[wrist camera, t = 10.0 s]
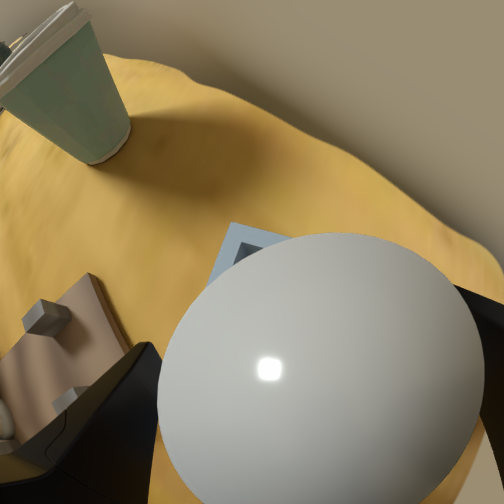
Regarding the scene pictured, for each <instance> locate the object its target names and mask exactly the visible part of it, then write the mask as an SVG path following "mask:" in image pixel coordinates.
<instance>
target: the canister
mask: <svg viewBox="0 0 504 504" xmlns="http://www.w3.org/2000/svg"><path fill="white" fill-rule="evenodd" d="M12 53H13V52H12V51H11V50H10V48H9V47H8V46H6V45H5V42H4V41H3V42H1V40H0V67H1V66H2V64H3V63H4V62H5V61H6V60H7V58H8V57H9V56H10V55H11V54H12Z"/></svg>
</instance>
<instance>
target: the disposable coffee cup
mask: <svg viewBox="0 0 504 504" xmlns="http://www.w3.org/2000/svg"><path fill="white" fill-rule="evenodd" d="M91 18H92V16H91V14H89V12H88V11H87V10H86V8H81V9H79V8H78V6H77V5H76V3H75V2H74V1H73V2H71V3H69V4H67V5H65V6H64V7H62V8H61V9H59V10H58V11H57V12H55V13H54V14H53V15H52V16H51V17H49V18H48V19H47V20H46V21H45V22H43V23H42V24H41V25H40V26H39V27H38V28H37V29H36V30H35V31H34V32H32V33H31V34H30V35H29V36H28V37H27V38H26V39H25V40H24V41H23V42H22V43H21V44H20V45H19V46H18V47H17V49H16V50H15V51H14V52H13V53H12V54H11V55H10V56H9V57H8V58H7V60H6V61H5V62H4V63H3V64H2V66H1V67H0V106H2V107H3V108H4V109H6V110H7V111H9V112H10V113H11V114H13V115H14V116H16V117H17V118H18V119H20V120H21V121H23V122H24V123H26V124H27V125H28V126H30V127H31V128H33V129H34V130H35V131H37V132H38V133H40V134H41V135H43V136H44V137H46V138H47V139H48V140H50V141H51V142H53V143H54V144H56V145H57V146H59V147H60V148H61V149H63V150H64V151H66V152H67V153H69V154H70V155H72V156H73V157H75V158H76V159H78V160H79V161H81V162H83V163H85V164H86V163H88V164H90V165H94V164H98V163H101V162H104V161H105V160H107V159H108V158H110V157H111V156H112V155H114V154H115V153H117V151H118V150H119V149H120V148H121V147H122V145H123V144H124V143H125V142H126V141H127V139H128V136H129V133H130V131H131V125H130V123H131V121H130V118H129V116H128V113H127V111H126V108H125V106H124V104H123V102H122V99H121V97H120V95H119V92H118V90H117V88H116V85H115V83H114V81H113V78H112V76H111V73H110V71H109V69H108V66H107V64H106V61H105V59H104V56H103V54H102V51H101V49H100V46H99V44H98V41H97V38H96V36H95V34H94V31H93V28H92V25H91V23H90V19H91Z"/></svg>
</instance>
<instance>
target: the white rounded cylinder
mask: <svg viewBox="0 0 504 504" xmlns="http://www.w3.org/2000/svg"><path fill="white" fill-rule="evenodd" d="M483 390H484V357H483V350H482V344H481V340H480V336H479V333H478V329H477V326H476V323H475V321H474V319H473V316H472V314H471V312H470V310H469V308H468V306H467V304H466V303H465V301H464V299H463V298H462V296H461V295H460V293H459V292H458V290H457V289H456V288H455V287H454V285H453V284H452V283H451V282H450V281H449V280H448V278H447V277H446V276H445V275H444V274H443V273H442V272H440V271H439V270H438V269H437V268H436V267H435V266H433V265H432V264H431V263H430V262H428V261H427V260H425V259H424V258H422V257H421V256H419V255H418V254H416V253H415V252H413V251H411V250H409V249H407V248H404V247H402V246H400V245H398V244H396V243H393V242H390V241H387V240H383V239H380V238H377V237H373V236H367V235H361V234H354V233H322V234H312V235H306V236H301V237H297V238H293V239H288V240H285V241H282V242H279V243H277V244H274V245H271V246H268V247H266V248H263V249H261V250H259V251H257V252H256V253H254V254H252V255H250V256H248V257H246V258H244V259H242V260H241V261H239V262H238V263H236V264H235V265H233V266H232V267H230V268H229V269H228V270H226V271H225V272H223V273H222V274H221V275H220V276H219V277H218V278H217V279H215V280H214V281H213V282H212V283H211V284H210V285H209V286H207V287H206V288H205V290H204V291H203V292H202V293H201V294H200V295H199V296H198V298H197V299H196V300H195V301H194V302H193V303H192V304H191V306H190V307H189V309H188V310H187V312H186V313H185V315H184V316H183V318H182V319H181V321H180V322H179V324H178V326H177V328H176V330H175V332H174V334H173V336H172V338H171V340H170V342H169V344H168V347H167V350H166V353H165V356H164V359H163V362H162V366H161V371H160V377H159V382H158V398H157V408H158V418H159V426H160V430H161V434H162V438H163V442H164V445H165V448H166V450H167V452H168V455H169V457H170V459H171V462H172V464H173V465H174V467H175V469H176V471H177V472H178V474H179V475H180V477H181V479H182V480H183V481H184V483H185V484H186V485H187V486H188V488H189V489H190V490H191V491H192V492H193V494H194V495H195V496H196V497H197V498H198V499H199V500H201V501H202V502H203V503H204V504H418V503H420V502H421V501H422V500H423V499H424V498H426V497H427V496H428V495H429V494H430V493H431V492H432V491H433V490H434V489H435V488H436V487H437V486H438V485H439V484H440V483H441V482H442V481H443V480H444V478H445V477H446V476H447V475H448V474H449V472H450V471H451V470H452V468H453V467H454V466H455V464H456V463H457V461H458V460H459V458H460V457H461V455H462V453H463V451H464V449H465V448H466V446H467V444H468V442H469V440H470V438H471V435H472V433H473V430H474V428H475V425H476V422H477V419H478V416H479V412H480V408H481V404H482V398H483Z"/></svg>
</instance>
